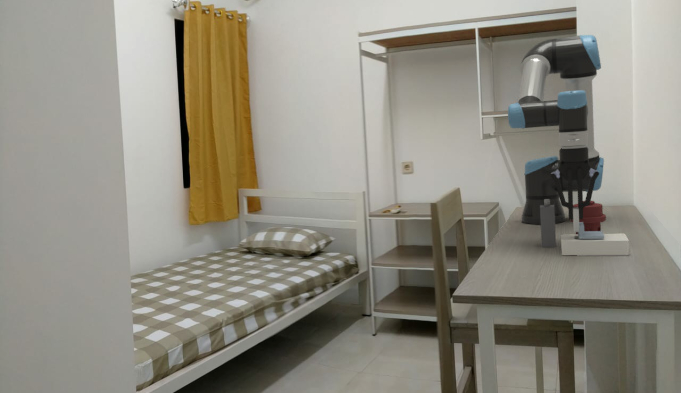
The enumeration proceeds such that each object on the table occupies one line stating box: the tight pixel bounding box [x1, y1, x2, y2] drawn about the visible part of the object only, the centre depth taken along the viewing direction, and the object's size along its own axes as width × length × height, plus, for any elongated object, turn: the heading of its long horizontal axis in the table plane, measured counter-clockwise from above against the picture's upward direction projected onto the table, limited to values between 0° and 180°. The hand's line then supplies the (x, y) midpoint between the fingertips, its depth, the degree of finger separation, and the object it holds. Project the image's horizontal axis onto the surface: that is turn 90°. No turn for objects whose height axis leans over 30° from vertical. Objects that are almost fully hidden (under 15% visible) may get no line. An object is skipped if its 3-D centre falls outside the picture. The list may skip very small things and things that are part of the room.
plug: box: [540, 199, 557, 248], centre depth 184 cm, size 4×4×14 cm
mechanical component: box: [569, 200, 607, 234], centre depth 185 cm, size 12×10×10 cm
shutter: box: [578, 222, 605, 239], centre depth 172 cm, size 7×6×4 cm
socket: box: [560, 233, 630, 256], centre depth 173 cm, size 10×17×4 cm, turn 71°
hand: (576, 230), depth 174 cm, fingers closed
